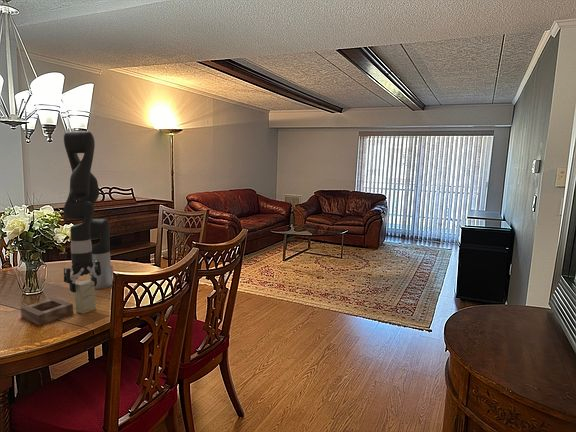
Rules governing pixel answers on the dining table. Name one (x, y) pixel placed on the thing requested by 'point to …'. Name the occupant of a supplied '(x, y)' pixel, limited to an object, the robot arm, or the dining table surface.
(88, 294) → the skincare box
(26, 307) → the grey flat hollow block
